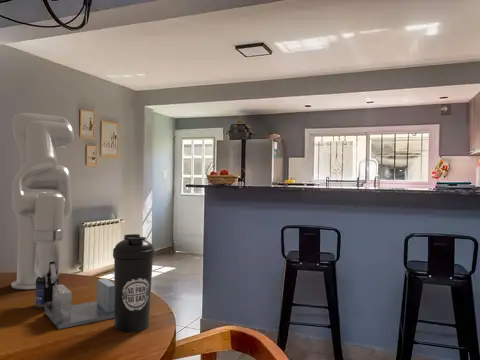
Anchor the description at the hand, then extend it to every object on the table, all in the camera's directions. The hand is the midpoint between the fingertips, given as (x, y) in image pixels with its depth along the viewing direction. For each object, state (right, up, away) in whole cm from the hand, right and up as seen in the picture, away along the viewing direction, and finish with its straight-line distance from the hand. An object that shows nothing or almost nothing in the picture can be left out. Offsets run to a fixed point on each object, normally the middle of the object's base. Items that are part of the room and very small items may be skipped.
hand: (47, 297), depth 111 cm
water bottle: (+28, -3, -13) cm, 31 cm away
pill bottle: (0, -3, 0) cm, 3 cm away
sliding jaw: (+18, -2, -2) cm, 18 cm away
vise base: (+13, -3, -6) cm, 15 cm away
